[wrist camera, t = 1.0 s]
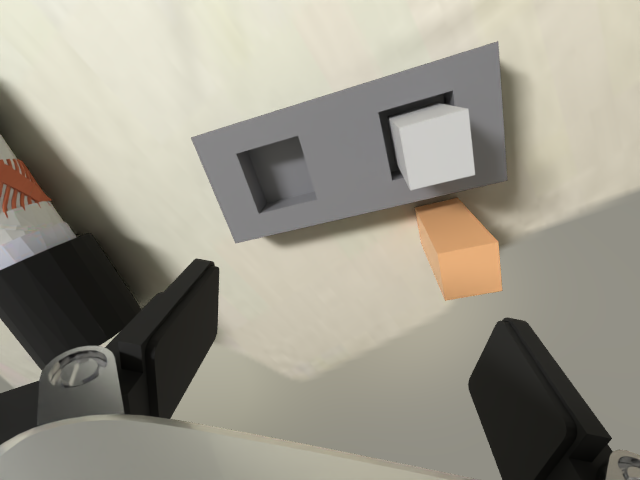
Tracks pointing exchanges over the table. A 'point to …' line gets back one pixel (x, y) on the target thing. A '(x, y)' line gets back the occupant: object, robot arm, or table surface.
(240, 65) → the table surface
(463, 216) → the plug
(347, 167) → the power strip
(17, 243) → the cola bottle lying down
